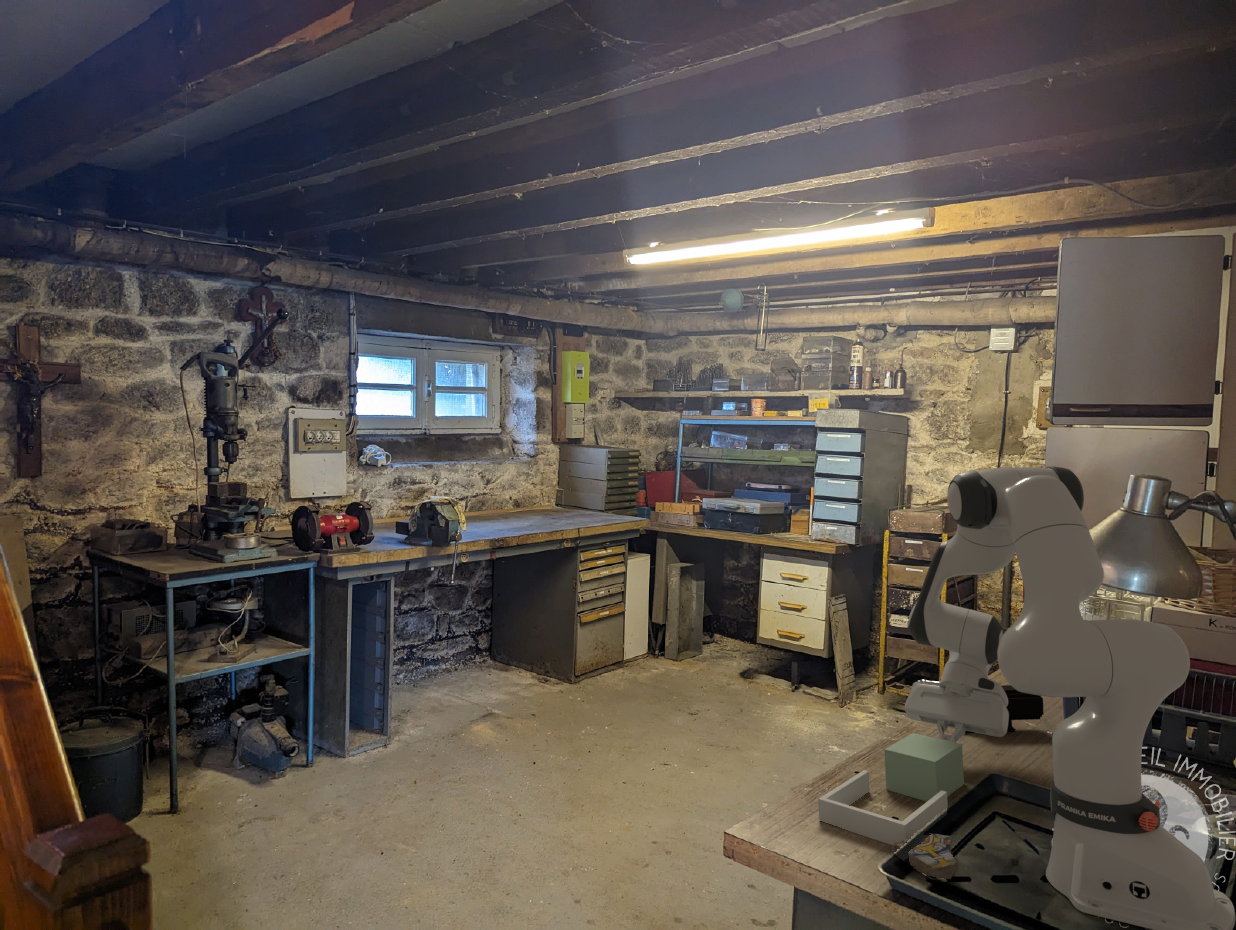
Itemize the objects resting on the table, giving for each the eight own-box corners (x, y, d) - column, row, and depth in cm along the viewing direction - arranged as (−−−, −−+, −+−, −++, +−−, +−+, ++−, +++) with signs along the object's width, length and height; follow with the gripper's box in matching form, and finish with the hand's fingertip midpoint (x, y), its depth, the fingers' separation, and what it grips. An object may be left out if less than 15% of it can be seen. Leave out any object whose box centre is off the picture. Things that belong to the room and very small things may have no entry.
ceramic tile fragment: (970, 867, 114) (899, 863, 116) (971, 889, 114) (900, 885, 116) (950, 831, 126) (886, 828, 128) (951, 851, 126) (887, 848, 128)
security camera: (953, 727, 183) (951, 684, 183) (1032, 724, 182) (1030, 682, 182) (965, 737, 176) (963, 693, 176) (1048, 734, 175) (1046, 691, 175)
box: (948, 814, 138) (946, 791, 138) (906, 849, 126) (905, 825, 126) (864, 790, 149) (864, 769, 149) (819, 821, 137) (818, 798, 137)
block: (963, 785, 150) (962, 744, 150) (937, 805, 142) (935, 761, 142) (914, 772, 158) (912, 732, 158) (886, 790, 149) (884, 749, 149)
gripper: (910, 670, 170) (892, 726, 163) (1008, 685, 156) (993, 747, 149) (919, 686, 173) (902, 741, 166) (1016, 702, 159) (1002, 764, 152)
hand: (946, 744), depth 157 cm, fingers closed
